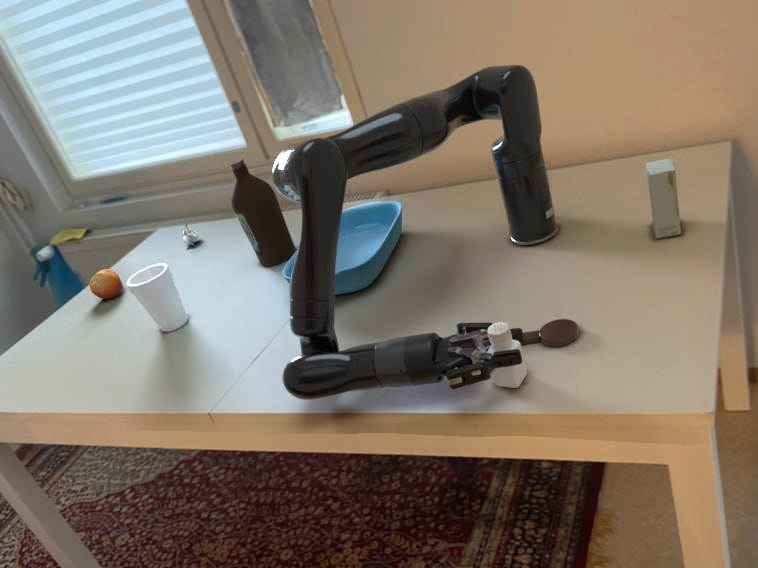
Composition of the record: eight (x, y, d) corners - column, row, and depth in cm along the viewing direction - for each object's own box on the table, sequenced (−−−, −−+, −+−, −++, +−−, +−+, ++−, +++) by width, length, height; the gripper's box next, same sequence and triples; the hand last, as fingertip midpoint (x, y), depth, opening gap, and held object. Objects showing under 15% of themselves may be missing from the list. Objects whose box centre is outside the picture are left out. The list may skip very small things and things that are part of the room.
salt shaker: (518, 390, 102) (505, 337, 97) (494, 387, 104) (479, 335, 99) (529, 373, 105) (516, 320, 100) (505, 370, 107) (491, 319, 102)
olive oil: (292, 242, 179) (252, 148, 166) (303, 254, 170) (262, 156, 157) (254, 259, 177) (211, 166, 164) (263, 272, 168) (218, 174, 155)
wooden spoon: (447, 362, 114) (445, 356, 113) (451, 341, 118) (449, 335, 118) (579, 344, 107) (578, 337, 106) (578, 322, 112) (577, 316, 111)
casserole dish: (334, 234, 174) (324, 208, 170) (418, 219, 166) (410, 191, 162) (280, 316, 146) (267, 286, 142) (378, 302, 138) (367, 270, 134)
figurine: (192, 247, 199) (182, 228, 196) (182, 247, 202) (172, 228, 199) (204, 238, 203) (195, 219, 199) (194, 238, 205) (185, 220, 202)
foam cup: (158, 340, 154) (129, 290, 147) (152, 326, 162) (123, 278, 155) (198, 320, 156) (171, 270, 149) (189, 307, 164) (163, 259, 157)
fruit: (134, 278, 188) (111, 263, 182) (125, 304, 186) (101, 291, 179) (114, 279, 192) (90, 265, 186) (105, 305, 190) (80, 292, 183)
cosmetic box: (681, 235, 124) (676, 170, 117) (655, 239, 125) (648, 175, 119) (677, 219, 129) (671, 156, 122) (652, 224, 130) (645, 161, 124)
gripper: (393, 370, 98) (514, 353, 93) (411, 315, 110) (519, 297, 104) (409, 410, 102) (525, 396, 97) (424, 353, 113) (529, 338, 108)
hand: (521, 345), depth 100 cm, fingers closed on salt shaker, 4 cm apart
